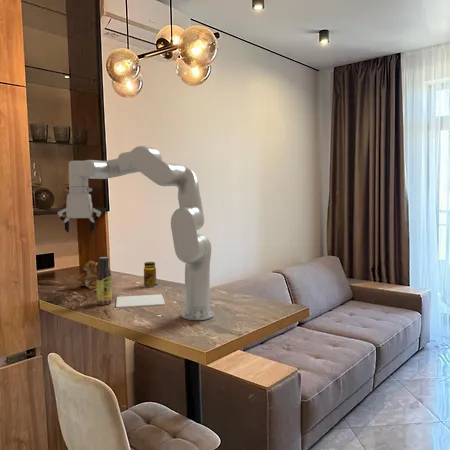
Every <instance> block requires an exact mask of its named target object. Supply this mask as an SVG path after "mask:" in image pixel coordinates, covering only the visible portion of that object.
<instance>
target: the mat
mask: <svg viewBox="0 0 450 450" xmlns="http://www.w3.org/2000/svg"><path fill="white" fill-rule="evenodd" d="M165 305H166V303H165V300H164V297H163V293H162V294H161V293H160V294H144V295H126V296H125V295H123V296H117V297H116V304H115V308H116V309H118V308H119V309H120V308H122V309H123V308H137V307H151V306H153V307H154V306H155V307H156V306H165Z"/></svg>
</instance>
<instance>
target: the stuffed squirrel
mask: <svg viewBox="0 0 450 450" xmlns="http://www.w3.org/2000/svg"><path fill="white" fill-rule="evenodd" d="M98 263H99V262H96V261H93V260H89V261H87V262H86V263H85V264H84V266H82V270H85V272H82V273H81V274H80V278H81V279H84V280H85V281H84V282H80V283H79V286H80V287H81V286H85V287H87V288H88V289H89V290H94V288H95V289H97V272H98V270H99V269H100V268H99V266H98ZM97 266H98V268H97ZM109 270H110V273H111V270H112V269H110V268H109Z"/></svg>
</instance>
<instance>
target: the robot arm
mask: <svg viewBox="0 0 450 450" xmlns="http://www.w3.org/2000/svg"><path fill="white" fill-rule="evenodd" d="M161 154H162V153H161V152H160V150H158V149H157V148H153V147H150V146H145V145H138V146H136V147H134V148H132V149H131V151H126V152H120V153H119V155H118V156H117V158H114V159H108V160H99V159H98V160H97V159H86V160H71V161H69V162H68V185H69V186H68V187H69V188H68V190H69V193H68V194H67V197H66V204H65V205H66V208H62V209H61V210H59V211H57V215H58V217H59V219H60V220H61V221H62V222H63V223H64V230H65V232H66V233H70V231H71V230H70V220H71V219H89V221H90V225H89V226H90V232H91V233H93V232H94V231H95V229H96V228H95V227H96V226H95V225H96V224H95V222H96V221H98V220H99V218H100V216H101V215H102V211H100V210H99V209H96V208H94V207H93V200H92V195H91V194H90V193H91V192H93V188H92V187H89V179H91V180H92V179H93V180H95V179H96V180H97V179H98V180H106V179H111V178H118V177H121V176H126V175H129V174H134V173H140V174H143V175H144V176H145V177H146V178H148V179H149V180H150V181H152V182H153V183H154V184H156V185H158V186H161V187H177V190H178V191H177V200H178V205H179V208H177V209H175V210H174V212H173V213H172V215H171V217H170V229H171V234H172V235H171V236H172V240H173V248H174V252H175V255H176V257H177V259H178V260H179V261H181V262H182V263H184V264H185V266H184V305H185V306H184V310H182V311H181V313H180V317H181V318H183V319H184V320H189V321H205V320H208V319H211V318H213V317H214V316H215V313H214V311H213V310H212V309H211V303H210V302H211V299H210V297H211V293H210V291H211V288H210V287H211V286H210V285H211V284H210V283H211V282H210V281H211V280H210V279H211V277H210V275H211V274H210V270H211V268H210V267H211V257H212V244H211V240H210V239H209V238H208V237H207V236H205V234H200V233H198V231H199V230H200V229H202V227H203V226H204V223H205V216H204V209H203V205H202V198H201V193H200V187H199V186H200V185H199V180H198V178H197V175H196V173H195V172H194V171H193V170H192V169H191V168H189V167H187V166H185V165H182V164H176V163H168V162H165V161H163V157H162V155H161ZM63 213H66V215H65V216H66V217H65V216H64V215H63ZM93 213H96V215H95V217H93V215H94V214H93Z"/></svg>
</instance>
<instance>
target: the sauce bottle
mask: <svg viewBox="0 0 450 450" xmlns="http://www.w3.org/2000/svg"><path fill="white" fill-rule="evenodd" d="M98 261H99V262H98V263H99V266H98V267H99V268H100V269H99V270H98V272H97V288H96V303H97V305H99V306H100V305H101V306H102V305H103V306H104V305H110V304H111V303H112V299H113V297H112V296H113V295H112V294H113V291H112V290H113V287H112V285H113V282H112V279H113V278H112V277H113V276H112V274H111V273H110V272H111V271H110V270H111V269H110V266H109V261H110V258H109V257H108V256H100V257H98ZM109 269H110V270H109Z"/></svg>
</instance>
